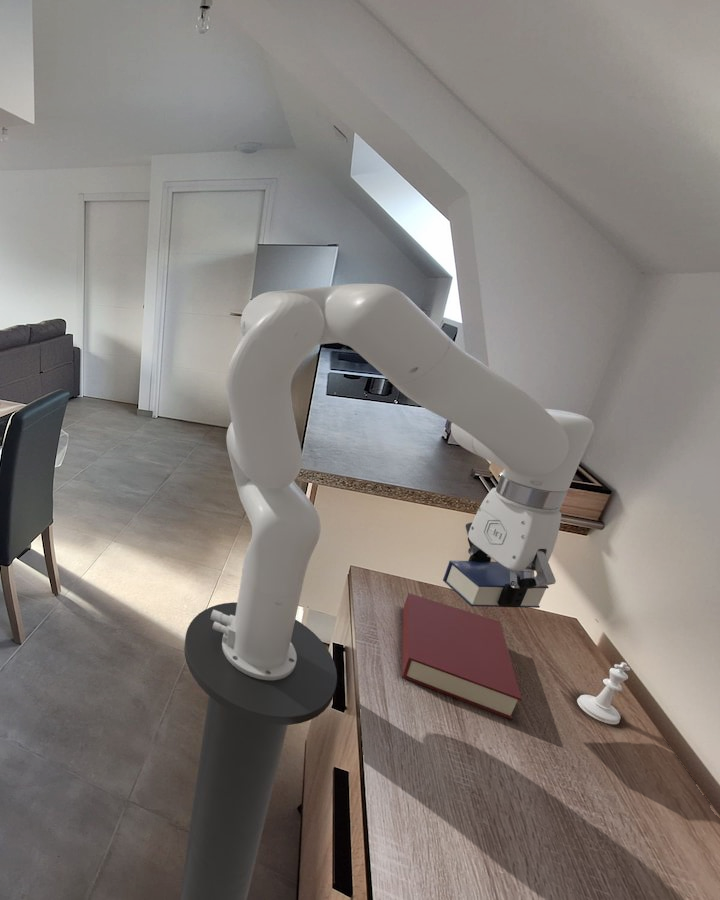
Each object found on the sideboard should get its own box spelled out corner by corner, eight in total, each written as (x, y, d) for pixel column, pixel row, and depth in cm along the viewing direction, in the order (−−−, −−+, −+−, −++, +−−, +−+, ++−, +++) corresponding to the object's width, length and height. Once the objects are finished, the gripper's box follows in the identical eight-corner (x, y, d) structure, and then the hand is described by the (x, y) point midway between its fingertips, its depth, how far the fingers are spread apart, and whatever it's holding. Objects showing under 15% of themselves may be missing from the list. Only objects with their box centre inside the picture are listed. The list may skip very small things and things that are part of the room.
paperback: (470, 606, 71) (479, 585, 69) (442, 580, 77) (449, 560, 75) (539, 607, 71) (548, 586, 70) (505, 581, 77) (514, 562, 76)
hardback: (512, 720, 71) (522, 699, 69) (402, 677, 78) (408, 657, 76) (492, 640, 87) (500, 621, 85) (402, 610, 94) (408, 592, 92)
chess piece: (627, 728, 70) (657, 680, 67) (588, 719, 71) (615, 671, 68) (606, 702, 75) (633, 655, 71) (570, 693, 76) (594, 647, 72)
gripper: (462, 468, 75) (432, 559, 82) (558, 520, 59) (511, 629, 65) (506, 469, 75) (472, 560, 82) (614, 522, 59) (561, 630, 66)
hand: (490, 590), depth 74 cm, fingers closed on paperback, 6 cm apart
